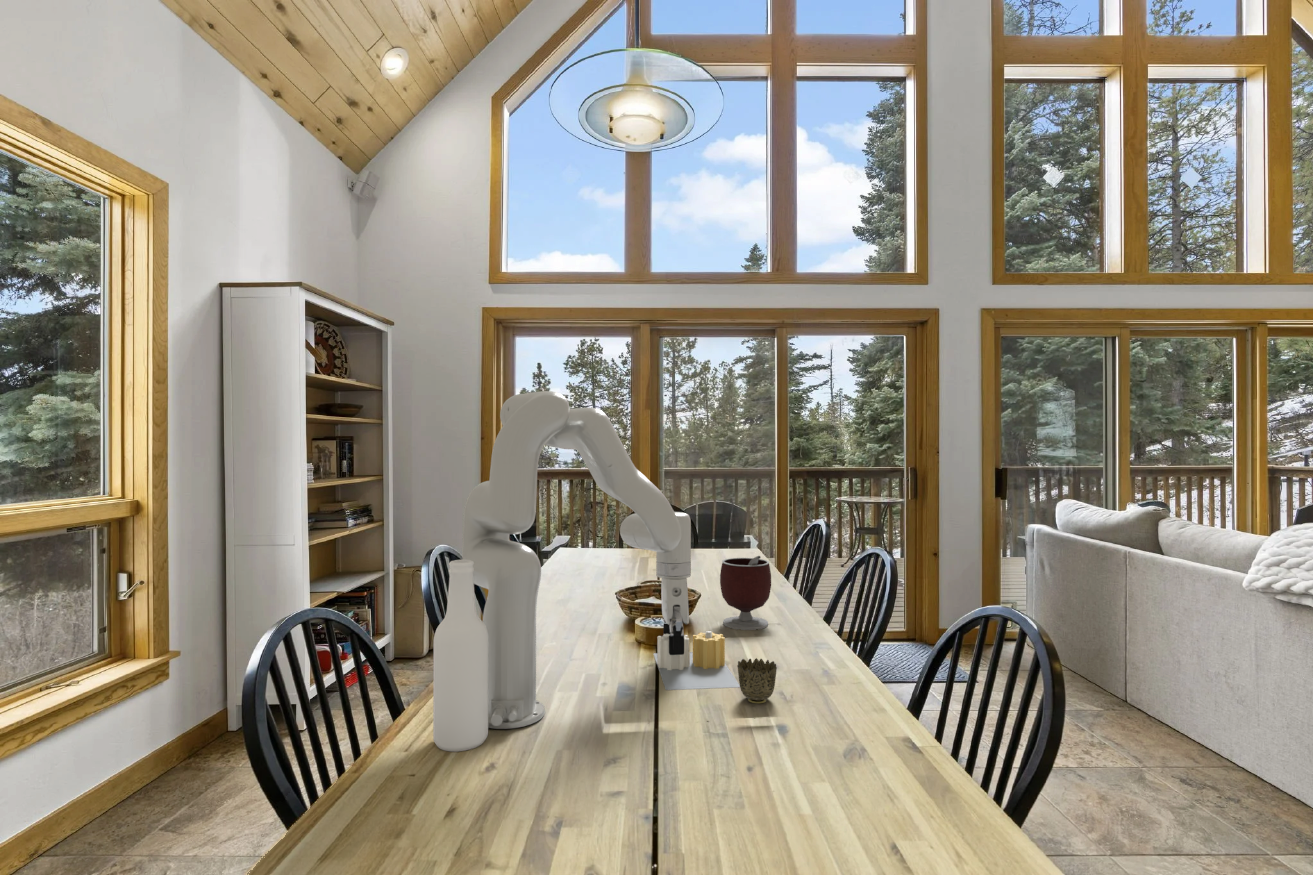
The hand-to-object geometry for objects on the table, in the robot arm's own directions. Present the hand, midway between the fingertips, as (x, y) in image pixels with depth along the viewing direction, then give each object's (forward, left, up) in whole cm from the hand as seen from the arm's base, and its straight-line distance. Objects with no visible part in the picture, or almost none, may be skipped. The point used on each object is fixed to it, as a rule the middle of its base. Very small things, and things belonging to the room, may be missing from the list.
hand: (673, 647), depth 154 cm
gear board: (-3, -4, -5) cm, 7 cm away
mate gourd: (+36, -25, -5) cm, 44 cm away
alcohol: (-32, +40, -5) cm, 51 cm away
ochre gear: (0, -8, -4) cm, 9 cm away
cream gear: (0, 0, -4) cm, 4 cm away
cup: (-22, -13, -5) cm, 26 cm away
